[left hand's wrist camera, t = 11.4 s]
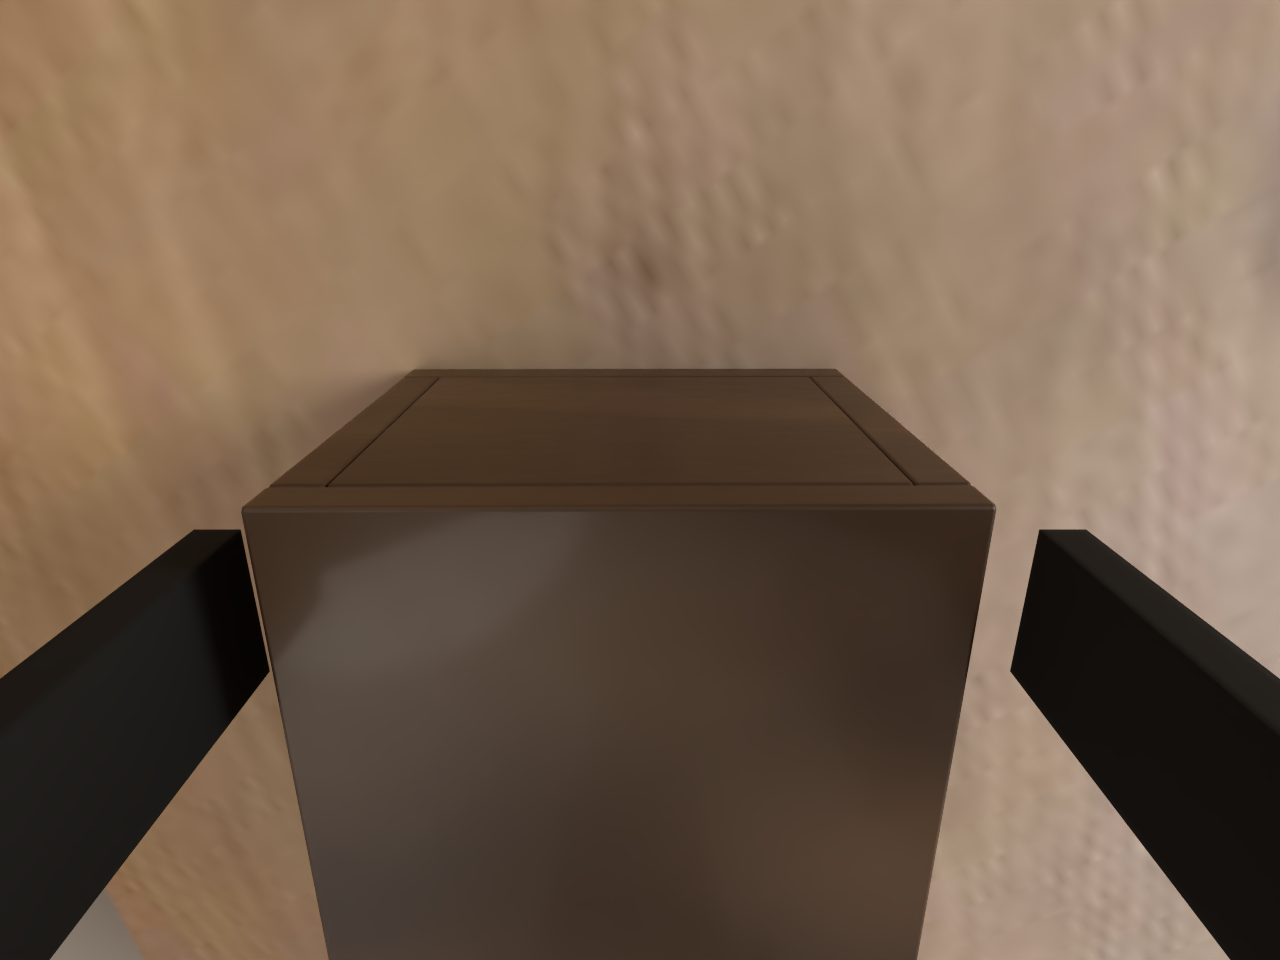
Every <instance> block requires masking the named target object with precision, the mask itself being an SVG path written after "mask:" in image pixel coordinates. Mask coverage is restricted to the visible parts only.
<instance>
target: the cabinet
mask: <svg viewBox="0 0 1280 960" xmlns="http://www.w3.org/2000/svg"><path fill="white" fill-rule="evenodd" d="M241 513H242V518H243V523H244V528H245V533H246V538H247V543H248V549H249V554H250V559H251V564H252V569H253V574H254V579H255V584H256V589H257V595H258V600H259V605H260V610H261V615H262V620H263V625H264V630H265V635H266V641H267V646H268V651H269V656H270V661H271V666H272V671H273V676H274V681H275V686H276V692H277V697H278V702H279V707H280V712H281V717H282V722H283V727H284V732H285V738H286V743H287V748H288V753H289V758H290V763H291V768H292V773H293V778H294V783H295V789H296V794H297V799H298V804H299V809H300V814H301V819H302V824H303V829H304V835H305V840H306V845H307V850H308V855H309V860H310V865H311V870H312V875H313V880H314V886H315V891H316V896H317V901H318V906H319V911H320V916H321V921H322V926H323V932H324V937H325V942H326V947H327V952H328V957H329V960H917V955H918V950H919V944H920V938H921V933H922V927H923V921H924V916H925V910H926V904H927V899H928V893H929V887H930V882H931V876H932V870H933V865H934V859H935V853H936V848H937V842H938V836H939V831H940V825H941V819H942V814H943V808H944V802H945V797H946V791H947V785H948V780H949V774H950V768H951V763H952V757H953V751H954V746H955V740H956V734H957V729H958V723H959V717H960V712H961V706H962V700H963V695H964V689H965V683H966V678H967V672H968V666H969V661H970V655H971V649H972V644H973V638H974V632H975V627H976V621H977V615H978V610H979V604H980V598H981V593H982V587H983V581H984V576H985V570H986V564H987V558H988V553H989V547H990V541H991V536H992V530H993V524H994V519H995V513H996V506H995V504H994V503H992V502H991V501H990V500H989V499H988V498H987V497H985V496H984V495H983V494H982V493H981V492H979V491H978V490H977V489H976V488H975V487H973V486H971V484H970V483H969V482H968V481H967V480H966V479H965V478H964V477H962V476H961V475H960V474H959V473H958V472H956V471H955V470H954V469H953V468H952V467H951V466H949V465H948V464H947V463H946V462H945V461H943V460H942V459H941V458H940V457H939V456H938V455H936V454H935V453H934V452H933V451H932V450H931V449H929V448H928V447H927V446H926V445H925V444H923V443H922V442H921V441H920V440H919V439H918V438H916V437H915V436H914V435H913V434H912V433H910V432H909V431H908V430H907V429H906V428H905V427H903V426H902V425H901V424H900V423H899V422H898V421H896V420H895V419H894V418H893V417H892V416H890V415H889V414H888V413H887V412H886V411H885V410H883V409H882V408H881V407H880V406H879V405H878V404H876V403H875V402H874V401H873V400H872V399H870V398H869V397H868V396H867V395H866V394H865V393H863V392H862V391H861V390H860V389H859V388H857V387H856V386H855V385H854V384H853V383H852V382H850V381H849V380H848V379H847V378H846V377H844V376H843V375H842V374H841V373H840V372H839V371H838V370H836V369H543V370H413V371H411V372H410V373H409V374H408V375H406V376H405V377H404V378H403V379H402V380H401V381H400V382H398V383H397V384H396V385H395V386H393V387H392V388H391V389H390V390H388V391H387V392H386V393H385V394H383V395H382V396H381V397H380V398H378V399H377V400H376V401H375V402H373V403H372V404H371V405H370V406H368V407H367V408H366V409H365V410H363V411H362V412H361V413H360V414H358V415H357V416H356V417H355V418H353V419H352V420H351V421H350V422H348V423H347V424H346V425H345V426H343V427H342V428H341V429H340V430H338V431H337V432H336V433H335V434H333V435H332V436H331V437H330V438H328V439H327V440H326V441H325V442H323V443H322V444H321V445H320V446H318V447H317V448H316V449H315V450H313V451H312V452H311V453H310V454H308V455H307V456H306V457H305V458H303V459H302V460H301V461H300V462H298V463H297V464H296V465H295V466H293V467H292V468H291V469H290V470H288V471H287V472H286V473H285V474H284V475H282V476H281V477H280V478H279V479H277V480H276V481H275V482H274V483H272V484H271V485H270V487H269V488H266V489H265V490H263V491H262V492H261V493H260V494H258V495H257V496H256V497H255V498H253V499H252V500H251V501H250V502H248V503H247V504H246V505H245V506H243V507H242V512H241Z"/></svg>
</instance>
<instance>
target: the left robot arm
mask: <svg viewBox="0 0 1280 960" xmlns="http://www.w3.org/2000/svg"><path fill="white" fill-rule="evenodd" d="M269 672H270V670H269V665H268V660H267V656H266V651H265V646H264V641H263V636H262V631H261V626H260V622H259V617H258V612H257V607H256V602H255V597H254V592H253V587H252V583H251V578H250V573H249V568H248V563H247V558H246V553H245V549H244V544H243V539H242V534H241V530H193V531H192V532H190V533H189V534H188V535H186V536H185V537H184V538H183V539H181V540H180V541H179V542H177V543H176V544H175V545H173V546H172V547H171V548H170V549H168V550H167V551H166V552H164V553H163V554H162V555H160V556H159V557H158V558H157V559H155V560H154V561H153V562H151V563H150V564H149V565H147V566H146V567H145V568H144V569H142V570H141V571H140V572H138V573H137V574H136V575H134V576H133V577H132V578H131V579H129V580H128V581H127V582H125V583H124V584H123V585H121V586H120V587H119V588H118V589H116V590H115V591H114V592H112V593H111V594H110V595H109V596H107V597H106V598H105V599H103V600H102V601H101V602H99V603H98V604H97V605H96V606H94V607H93V608H92V609H90V610H89V611H88V612H86V613H85V614H84V615H83V616H81V617H80V618H79V619H77V620H76V621H75V622H73V623H72V624H71V625H70V626H68V627H67V628H66V629H64V630H63V631H62V632H60V633H59V634H58V635H57V636H55V637H54V638H53V639H51V640H50V641H49V642H47V643H46V644H45V645H44V646H42V647H41V648H40V649H38V650H37V651H36V652H35V653H33V654H32V655H31V656H29V657H28V658H27V659H25V660H24V661H23V662H22V663H20V664H19V665H18V666H16V667H15V668H14V669H12V670H11V671H10V672H9V673H7V674H6V675H5V676H3V677H2V678H1V679H0V960H50V958H51V957H52V956H53V954H54V953H55V952H56V951H57V949H58V948H59V947H60V945H61V944H62V943H63V941H64V940H65V939H66V938H67V936H68V935H69V934H70V932H71V931H72V930H73V928H74V927H75V926H76V924H77V923H78V922H79V920H80V919H81V918H82V917H83V915H84V914H85V913H86V911H87V910H88V909H89V907H90V906H91V905H92V903H93V902H94V901H95V899H96V898H97V897H98V896H99V894H100V893H101V892H102V890H103V889H104V888H105V886H106V885H107V884H108V882H109V881H110V880H111V879H112V877H113V876H114V875H115V873H116V872H117V871H118V869H119V868H120V867H121V865H122V864H123V863H124V862H125V860H126V859H127V858H128V856H129V855H130V854H131V852H132V851H133V850H134V848H135V847H136V846H137V845H138V843H139V842H140V841H141V839H142V838H143V837H144V835H145V834H146V833H147V831H148V830H149V829H150V827H151V826H152V825H153V824H154V822H155V821H156V820H157V818H158V817H159V816H160V814H161V813H162V812H163V810H164V809H165V808H166V807H167V805H168V804H169V803H170V801H171V800H172V799H173V797H174V796H175V795H176V793H177V792H178V791H179V789H180V788H181V787H182V786H183V784H184V783H185V782H186V780H187V779H188V778H189V776H190V775H191V774H192V772H193V771H194V770H195V769H196V767H197V766H198V765H199V763H200V762H201V761H202V759H203V758H204V757H205V755H206V754H207V753H208V751H209V750H210V749H211V748H212V746H213V745H214V744H215V742H216V741H217V740H218V738H219V737H220V736H221V734H222V733H223V732H224V731H225V729H226V728H227V727H228V725H229V724H230V723H231V721H232V720H233V719H234V717H235V716H236V715H237V713H238V712H239V711H240V710H241V708H242V707H243V706H244V704H245V703H246V702H247V700H248V699H249V698H250V696H251V695H252V694H253V693H254V691H255V690H256V689H257V687H258V686H259V685H260V683H261V682H262V681H263V679H264V678H265V677H266V675H267V674H268V673H269ZM1010 672H1011V673H1012V674H1013V675H1014V677H1015V678H1016V679H1017V681H1018V682H1019V683H1020V685H1021V686H1022V687H1023V689H1024V690H1025V691H1026V693H1027V694H1028V695H1029V696H1030V698H1031V699H1032V700H1033V702H1034V703H1035V704H1036V706H1037V707H1038V708H1039V710H1040V711H1041V712H1042V713H1043V715H1044V716H1045V717H1046V719H1047V720H1048V721H1049V723H1050V724H1051V725H1052V727H1053V728H1054V729H1055V731H1056V732H1057V733H1058V734H1059V736H1060V737H1061V738H1062V740H1063V741H1064V742H1065V744H1066V745H1067V746H1068V748H1069V749H1070V750H1071V751H1072V753H1073V754H1074V755H1075V757H1076V758H1077V759H1078V761H1079V762H1080V763H1081V765H1082V766H1083V767H1084V769H1085V770H1086V771H1087V772H1088V774H1089V775H1090V776H1091V778H1092V779H1093V780H1094V782H1095V783H1096V784H1097V786H1098V787H1099V788H1100V789H1101V791H1102V792H1103V793H1104V795H1105V796H1106V797H1107V799H1108V800H1109V801H1110V803H1111V804H1112V805H1113V807H1114V808H1115V809H1116V810H1117V812H1118V813H1119V814H1120V816H1121V817H1122V818H1123V820H1124V821H1125V822H1126V824H1127V825H1128V826H1129V827H1130V829H1131V830H1132V831H1133V833H1134V834H1135V835H1136V837H1137V838H1138V839H1139V841H1140V842H1141V843H1142V845H1143V846H1144V847H1145V848H1146V850H1147V851H1148V852H1149V854H1150V855H1151V856H1152V858H1153V859H1154V860H1155V862H1156V863H1157V864H1158V865H1159V867H1160V868H1161V869H1162V871H1163V872H1164V873H1165V875H1166V876H1167V877H1168V879H1169V880H1170V881H1171V882H1172V884H1173V885H1174V886H1175V888H1176V889H1177V890H1178V892H1179V893H1180V894H1181V896H1182V897H1183V898H1184V900H1185V901H1186V902H1187V903H1188V905H1189V906H1190V907H1191V909H1192V910H1193V911H1194V913H1195V914H1196V915H1197V917H1198V918H1199V919H1200V920H1201V922H1202V923H1203V924H1204V926H1205V927H1206V928H1207V930H1208V931H1209V932H1210V934H1211V935H1212V936H1213V938H1214V939H1215V940H1216V941H1217V943H1218V944H1219V945H1220V947H1221V948H1222V949H1223V951H1224V952H1225V953H1226V955H1227V956H1228V957H1229V958H1230V960H1280V679H1279V678H1278V677H1277V676H1275V675H1274V674H1273V673H1271V672H1270V671H1269V670H1268V669H1266V668H1265V667H1264V666H1262V665H1261V664H1260V663H1258V662H1257V661H1256V660H1255V659H1253V658H1252V657H1251V656H1249V655H1248V654H1247V653H1245V652H1244V651H1243V650H1242V649H1240V648H1239V647H1238V646H1236V645H1235V644H1234V643H1233V642H1231V641H1230V640H1229V639H1227V638H1226V637H1225V636H1223V635H1222V634H1221V633H1220V632H1218V631H1217V630H1216V629H1214V628H1213V627H1212V626H1210V625H1209V624H1208V623H1207V622H1205V621H1204V620H1203V619H1201V618H1200V617H1199V616H1197V615H1196V614H1195V613H1194V612H1192V611H1191V610H1190V609H1188V608H1187V607H1186V606H1184V605H1183V604H1182V603H1181V602H1179V601H1178V600H1177V599H1175V598H1174V597H1173V596H1171V595H1170V594H1169V593H1168V592H1166V591H1165V590H1164V589H1162V588H1161V587H1160V586H1159V585H1157V584H1156V583H1155V582H1153V581H1152V580H1151V579H1149V578H1148V577H1147V576H1146V575H1144V574H1143V573H1142V572H1140V571H1139V570H1138V569H1136V568H1135V567H1134V566H1133V565H1131V564H1130V563H1129V562H1127V561H1126V560H1125V559H1123V558H1122V557H1121V556H1120V555H1118V554H1117V553H1116V552H1114V551H1113V550H1112V549H1110V548H1109V547H1108V546H1107V545H1105V544H1104V543H1103V542H1101V541H1100V540H1099V539H1097V538H1096V537H1095V536H1094V535H1092V534H1091V533H1090V532H1088V531H1087V530H1039V534H1038V539H1037V544H1036V549H1035V553H1034V558H1033V563H1032V568H1031V573H1030V578H1029V583H1028V587H1027V592H1026V597H1025V602H1024V607H1023V612H1022V617H1021V622H1020V626H1019V631H1018V636H1017V641H1016V646H1015V651H1014V656H1013V660H1012V665H1011V670H1010Z"/></svg>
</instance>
